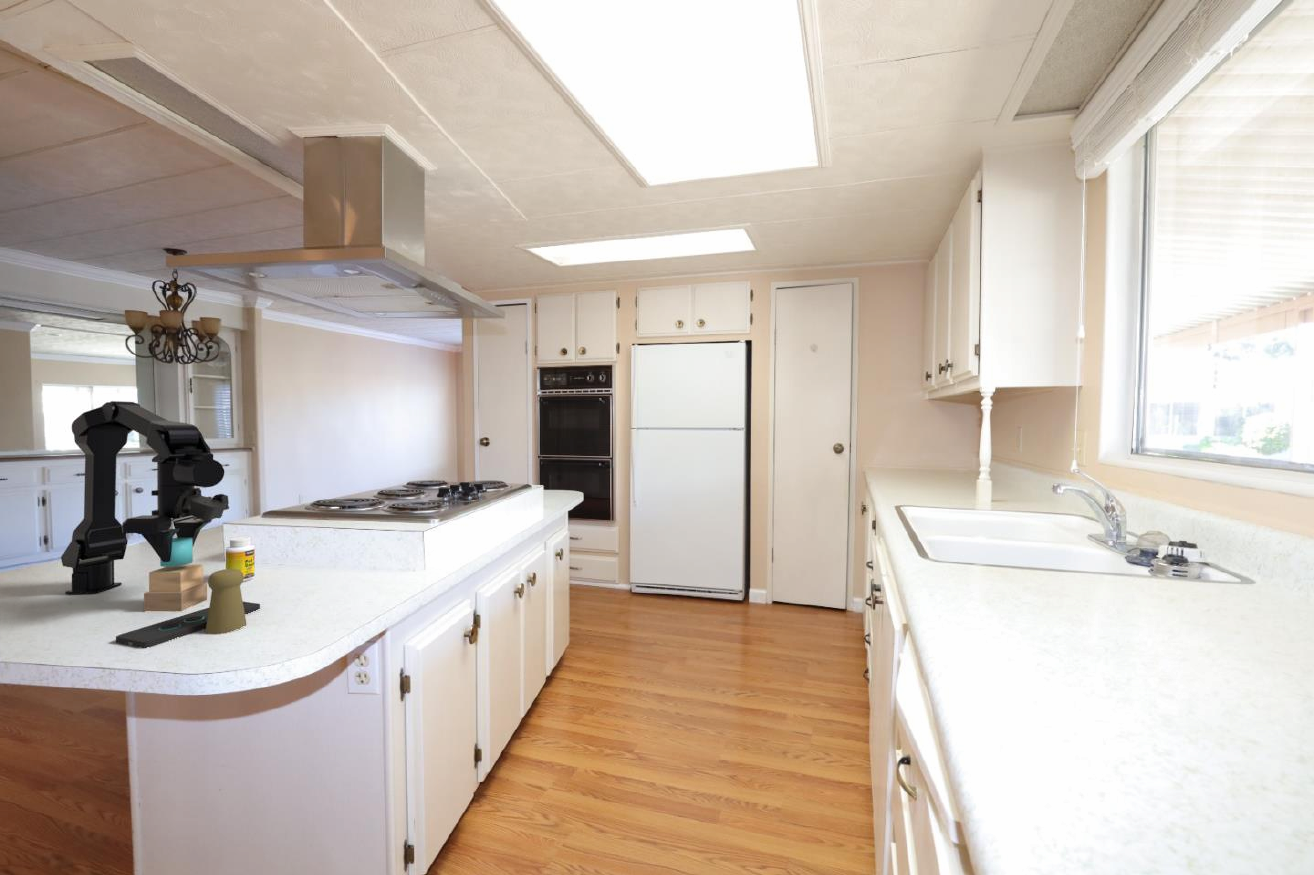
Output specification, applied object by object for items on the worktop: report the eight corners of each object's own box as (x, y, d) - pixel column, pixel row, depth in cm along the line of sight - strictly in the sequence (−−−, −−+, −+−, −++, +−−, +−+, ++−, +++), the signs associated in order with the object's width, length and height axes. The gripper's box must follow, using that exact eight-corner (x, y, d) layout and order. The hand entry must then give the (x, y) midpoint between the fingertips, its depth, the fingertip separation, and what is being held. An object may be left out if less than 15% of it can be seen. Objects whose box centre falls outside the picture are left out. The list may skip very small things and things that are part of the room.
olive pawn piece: (212, 636, 95) (212, 576, 95) (199, 629, 99) (199, 571, 98) (252, 626, 101) (251, 569, 100) (238, 619, 104) (238, 564, 103)
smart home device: (113, 635, 92) (232, 599, 112) (113, 645, 92) (232, 607, 112) (146, 641, 90) (262, 603, 109) (146, 651, 90) (262, 611, 109)
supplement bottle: (247, 582, 126) (247, 540, 126) (220, 584, 125) (220, 541, 125) (259, 576, 132) (259, 535, 132) (233, 577, 131) (233, 536, 130)
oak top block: (173, 582, 114) (173, 564, 114) (203, 582, 114) (203, 564, 114) (149, 591, 108) (148, 572, 108) (180, 591, 108) (180, 572, 108)
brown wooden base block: (172, 601, 114) (171, 582, 114) (207, 600, 115) (206, 582, 114) (144, 612, 107) (143, 593, 107) (181, 612, 108) (181, 592, 107)
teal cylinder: (173, 560, 112) (173, 537, 112) (198, 560, 113) (198, 537, 113) (153, 566, 107) (153, 542, 107) (180, 566, 108) (180, 542, 108)
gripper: (183, 490, 101) (183, 570, 102) (247, 479, 120) (247, 547, 120) (119, 490, 100) (120, 571, 101) (194, 479, 119) (194, 548, 119)
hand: (176, 558), depth 110 cm, fingers closed on teal cylinder, 5 cm apart
